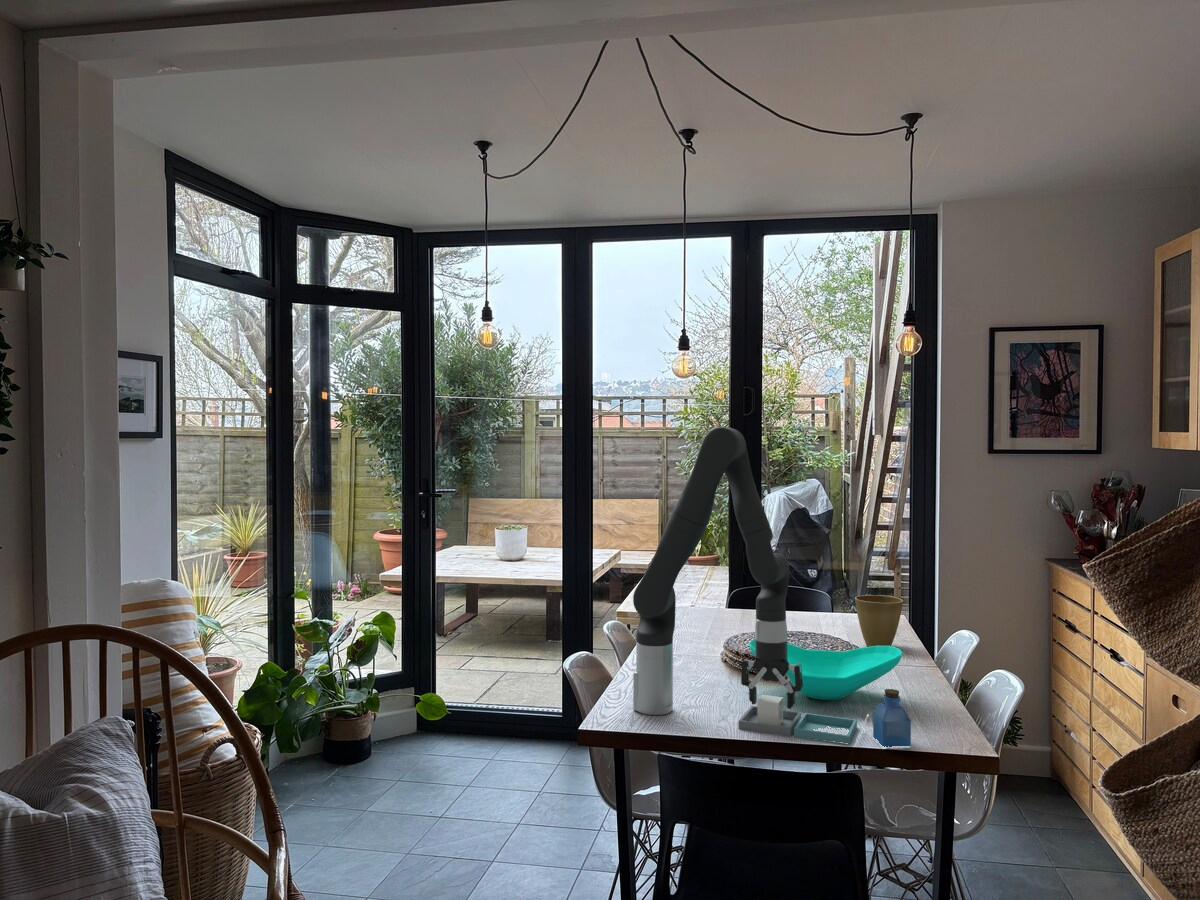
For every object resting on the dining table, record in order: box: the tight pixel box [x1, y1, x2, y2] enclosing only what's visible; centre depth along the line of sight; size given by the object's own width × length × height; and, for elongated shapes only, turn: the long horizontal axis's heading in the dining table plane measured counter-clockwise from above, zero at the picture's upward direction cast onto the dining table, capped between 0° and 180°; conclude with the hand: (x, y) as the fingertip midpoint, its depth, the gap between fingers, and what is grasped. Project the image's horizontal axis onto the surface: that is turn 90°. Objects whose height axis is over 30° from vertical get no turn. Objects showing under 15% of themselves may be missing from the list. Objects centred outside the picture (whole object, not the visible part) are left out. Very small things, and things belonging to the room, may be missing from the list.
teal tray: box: [793, 712, 858, 745], centre depth 197 cm, size 12×12×2 cm
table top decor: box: [748, 638, 904, 701], centre depth 226 cm, size 40×28×13 cm
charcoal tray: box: [737, 705, 802, 737], centre depth 203 cm, size 12×12×2 cm
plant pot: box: [854, 594, 904, 647], centre depth 278 cm, size 15×15×16 cm
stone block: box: [756, 694, 784, 726], centre depth 203 cm, size 5×5×6 cm
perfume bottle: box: [872, 688, 912, 747], centre depth 191 cm, size 6×6×12 cm
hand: (771, 705), depth 203 cm, fingers open, 8 cm apart
